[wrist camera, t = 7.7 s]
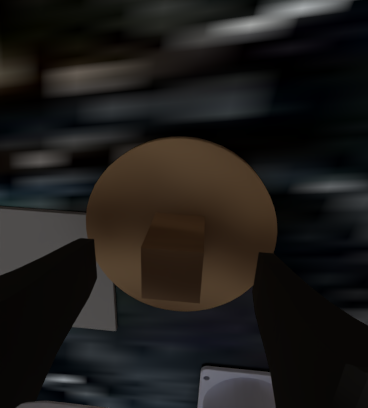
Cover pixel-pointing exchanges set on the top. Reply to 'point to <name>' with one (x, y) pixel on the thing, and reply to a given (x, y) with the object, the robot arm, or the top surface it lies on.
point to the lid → (181, 223)
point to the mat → (48, 242)
